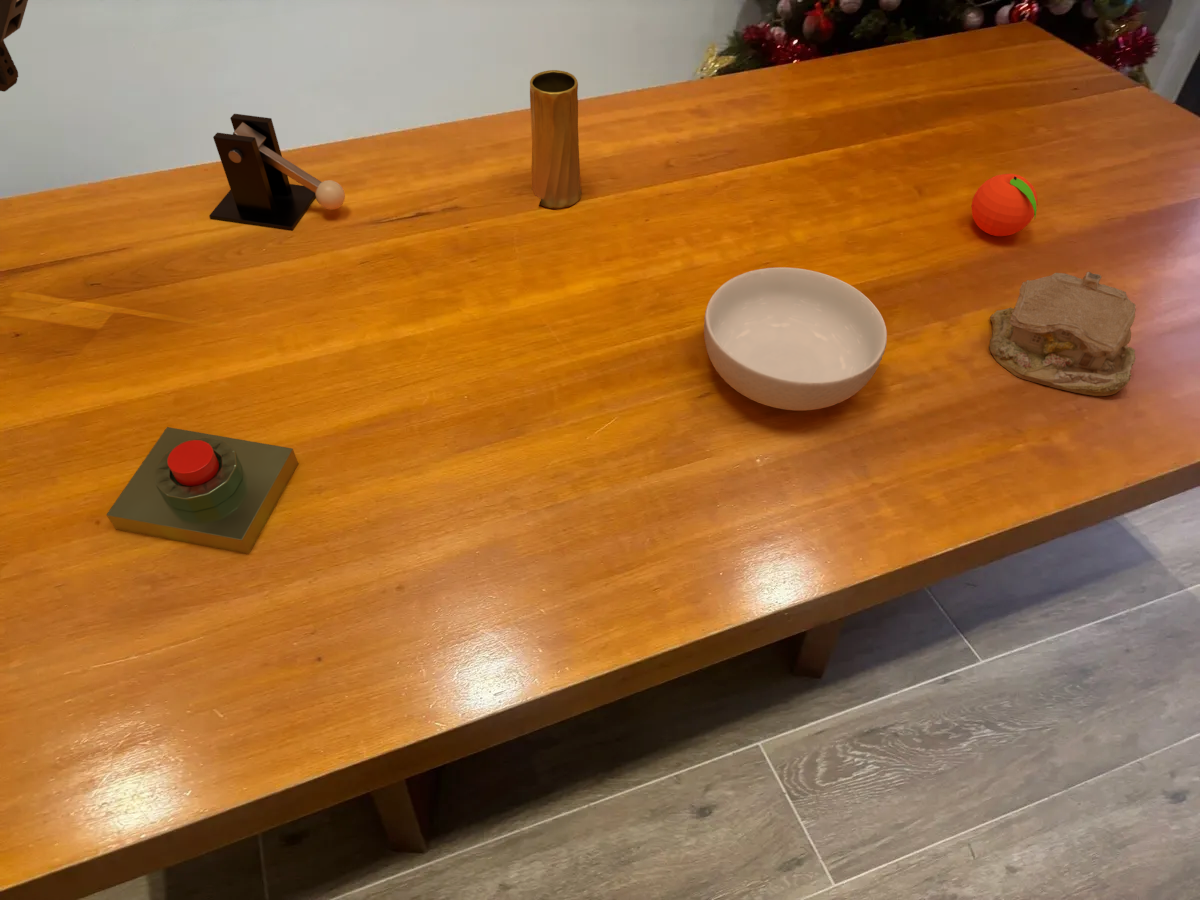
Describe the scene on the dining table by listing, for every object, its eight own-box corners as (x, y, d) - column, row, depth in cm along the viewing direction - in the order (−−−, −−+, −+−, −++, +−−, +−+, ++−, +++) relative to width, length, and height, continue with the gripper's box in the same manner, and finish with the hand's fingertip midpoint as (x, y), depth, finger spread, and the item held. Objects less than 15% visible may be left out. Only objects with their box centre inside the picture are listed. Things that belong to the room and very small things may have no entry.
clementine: (1043, 244, 104) (1068, 191, 99) (996, 260, 102) (1020, 206, 97) (996, 207, 109) (1018, 154, 103) (950, 221, 107) (970, 168, 101)
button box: (116, 530, 76) (96, 501, 73) (175, 442, 82) (159, 412, 79) (249, 555, 74) (235, 527, 71) (298, 464, 81) (288, 434, 78)
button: (166, 482, 75) (158, 469, 73) (187, 450, 77) (180, 436, 76) (206, 489, 74) (199, 476, 73) (226, 457, 76) (220, 443, 75)
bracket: (322, 198, 107) (301, 114, 99) (294, 238, 102) (270, 152, 94) (244, 187, 108) (216, 103, 100) (212, 226, 103) (181, 141, 95)
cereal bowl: (881, 341, 93) (899, 287, 87) (854, 457, 83) (873, 404, 77) (722, 302, 96) (730, 248, 91) (677, 408, 86) (684, 355, 81)
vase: (520, 193, 109) (514, 80, 98) (557, 174, 112) (555, 62, 101) (554, 215, 106) (552, 101, 95) (591, 195, 109) (593, 82, 98)
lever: (343, 204, 104) (353, 185, 102) (332, 220, 102) (342, 201, 100) (237, 137, 100) (245, 116, 98) (224, 152, 98) (232, 132, 96)
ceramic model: (970, 360, 91) (1006, 283, 84) (998, 299, 98) (1034, 221, 90) (1115, 414, 87) (1167, 337, 79) (1134, 346, 93) (1184, 268, 85)
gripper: (6, -168, 62) (103, 75, 75) (-165, -190, 63) (-40, 53, 76) (-69, -132, 57) (49, 121, 70) (-252, -156, 58) (-103, 96, 71)
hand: (2, 85), depth 73 cm, fingers closed
